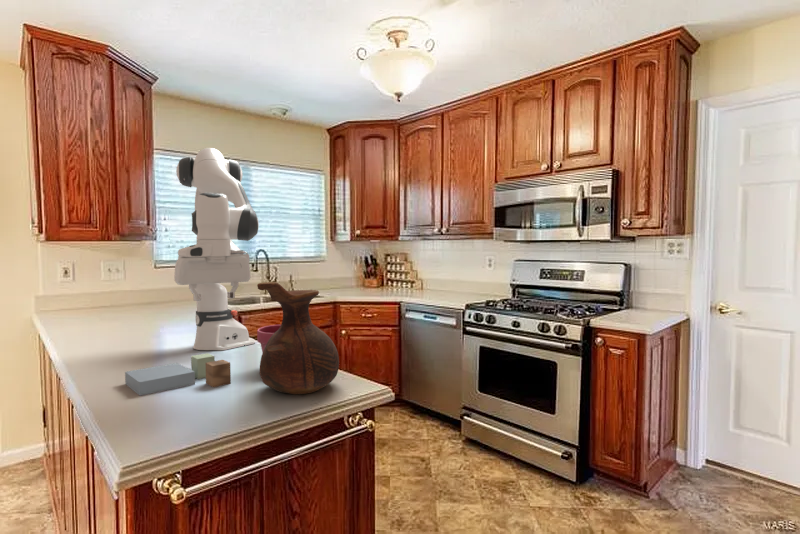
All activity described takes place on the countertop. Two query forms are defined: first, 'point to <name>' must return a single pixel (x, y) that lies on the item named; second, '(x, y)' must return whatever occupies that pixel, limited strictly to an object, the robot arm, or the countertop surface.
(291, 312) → the jug
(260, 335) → the plant pot
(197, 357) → the sage block
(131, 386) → the slate base block
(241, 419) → the countertop surface
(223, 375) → the walnut block
